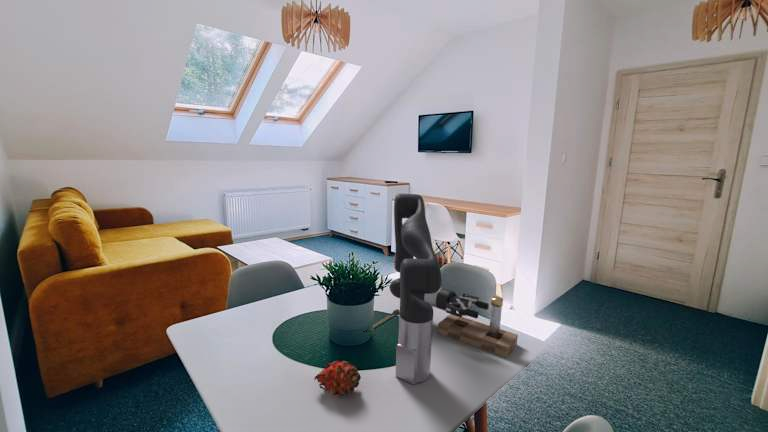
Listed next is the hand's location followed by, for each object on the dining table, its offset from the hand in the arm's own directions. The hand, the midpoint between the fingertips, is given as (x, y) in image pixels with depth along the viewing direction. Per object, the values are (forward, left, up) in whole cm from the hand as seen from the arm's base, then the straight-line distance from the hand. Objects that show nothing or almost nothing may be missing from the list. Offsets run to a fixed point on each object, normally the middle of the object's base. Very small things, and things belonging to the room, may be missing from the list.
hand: (483, 310), depth 116 cm
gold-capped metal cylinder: (0, -4, -10) cm, 11 cm away
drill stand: (0, +2, -10) cm, 11 cm away
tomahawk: (-11, +32, -11) cm, 36 cm away
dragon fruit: (-49, +19, -11) cm, 54 cm away
